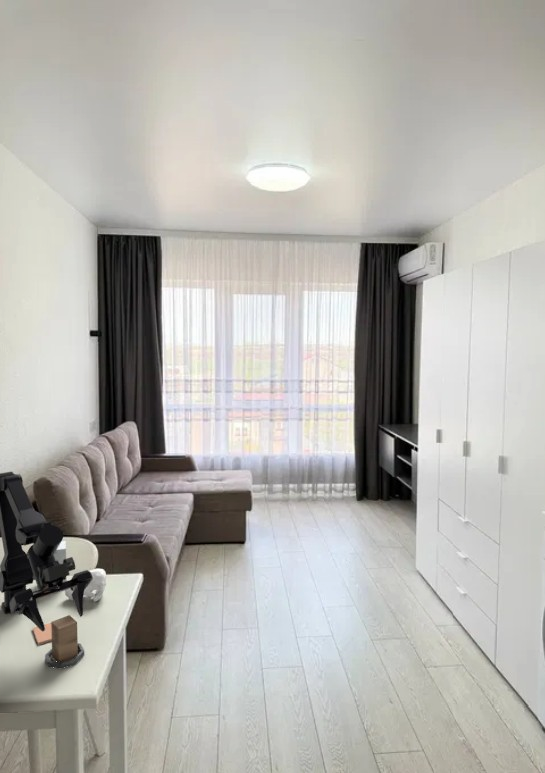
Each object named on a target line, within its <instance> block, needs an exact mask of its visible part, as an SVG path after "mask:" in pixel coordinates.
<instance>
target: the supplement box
mask: <svg viewBox="0 0 545 773" xmlns="http://www.w3.org/2000/svg"><path fill="white" fill-rule="evenodd" d="M54 557H55V559H56V561H57V560H58V562H59V564H63V560H64V559H67V540H62V541H61V543H60V545H59V546H58V548H57V550H56V551H55V553H54ZM66 581H68V580H67V577H66V579H65V580H63V582H66Z"/></svg>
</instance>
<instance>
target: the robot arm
mask: <svg viewBox="0 0 545 773" xmlns="http://www.w3.org/2000/svg"><path fill="white" fill-rule="evenodd" d="M23 483H24V481H23V477H22V475H21V474H20V473H19V474H16V473H14V472H13V471H6V472H1V473H0V534H1V535H0V536H1V541H2V547H3V554H4V555H3V558H2V559H1V561H0V593H1V594H3V600H4V601H2V602H1V606H2V610H3V613H4V614H9V613H11V614H15V613H17V614H18V615H24V616H25V617H26V618H27V619H29V620H30V621H31V622H32V623H33V624H34V625H35V627H38V628H39V629H40V630H41V631H44V630H45V627H44V625H45V623H44V621H43V618H42V615H41V613H40V610H39V608H38V604H37V600H39V599H43V598H46V597H48V596H52V595H54V594H57V593H61V592H63V591H65V590H66V589H69V588H71V590H72V591H73V593H72V597H73V599H72V600H73V602H74V605H75V609H76V611H77V613H78V615H79V616H80V617H83V615H84V596H85V595H84V590H85V589H86V587H87V586H88V585H89V583H90V582H91V580H92V579H93V577H92V574H91V572H89V571H90V570H88V569H86V570H83V571H79V572H76V573H74V574H73V575H72V577H71V578H70V579H69V580H67V581H66V582H63V580H65V579H66V578H67V576H70V572H71V571H74V570H75V569H76V564H75V563H76V562H75V560H74V558H73V556H71V557H66V559H64V560H63V564H59V562H58V560H57V561H56V559H55V557H54V553H55V551H56V550H57V548H58V546H59V545H60V543H61V541H63V539H64V532H63V529H61V528H60V527H59V526H56V525H54V524H52V523H51V521H47V520H46V518H45V517H44V515H43V514H42V513H40V512H38V511H36V510H35V508H34V506H33V504H32V502H31V500H30V498H29V495H28V493H27V491H26V489H25V486H24V484H23ZM31 544H32V545H31ZM28 545H30V546H29V548H28V549H27V551H25V550H24V549H23V546H24V547H25V546H28ZM34 581H35V583H36V586H37V590H36V591H33V589H31V588H27V585H30V584H34Z"/></svg>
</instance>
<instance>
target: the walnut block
mask: <svg viewBox="0 0 545 773" xmlns="http://www.w3.org/2000/svg"><path fill="white" fill-rule="evenodd" d="M50 623H51V630H52V641H51V649H52V656H51V658H52V659H53V661H57V662H64V661H67V660H70V659H73V658H75V657H76V656H77V655H78V654H79V653H78V652H79V649H78V643H79V642H78V621H76V620H75V619H74V618H73V617H72V616H71V615H70V614H69V615H66V616H64V617H61V618H58V619H55V620H52V621H51V622H50Z"/></svg>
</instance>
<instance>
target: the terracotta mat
mask: <svg viewBox="0 0 545 773" xmlns="http://www.w3.org/2000/svg"><path fill="white" fill-rule="evenodd" d="M44 627H45V630H44V631H41V630H40V629H39V628H38V627H37V626H34V627H32V632H33V634H34V637H35V640H36V644H37V646H40V645H42V644H43V645H44V644H45V643H46V644H47V643H49V642H52V630H51V622H49V623H48V622H47V623H44Z"/></svg>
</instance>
